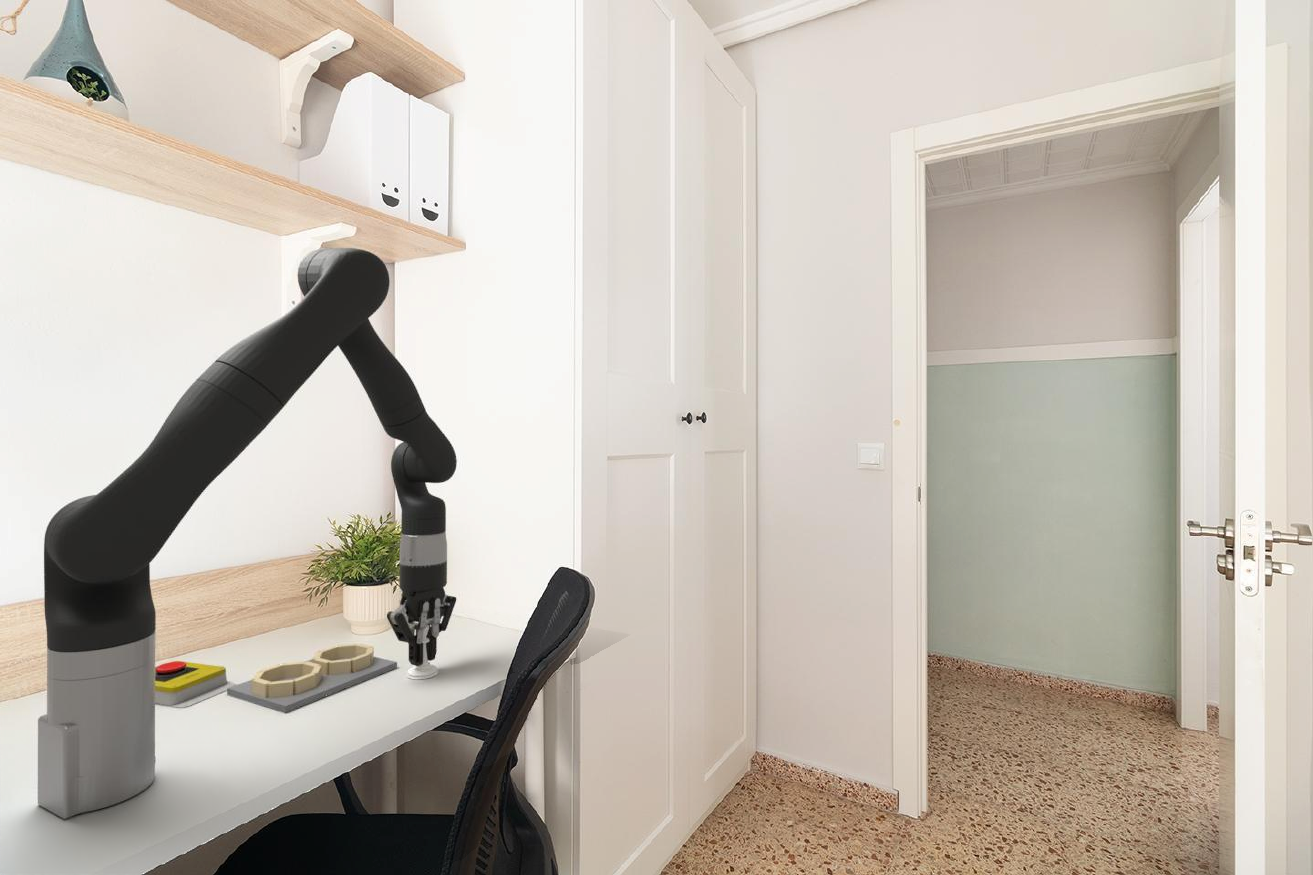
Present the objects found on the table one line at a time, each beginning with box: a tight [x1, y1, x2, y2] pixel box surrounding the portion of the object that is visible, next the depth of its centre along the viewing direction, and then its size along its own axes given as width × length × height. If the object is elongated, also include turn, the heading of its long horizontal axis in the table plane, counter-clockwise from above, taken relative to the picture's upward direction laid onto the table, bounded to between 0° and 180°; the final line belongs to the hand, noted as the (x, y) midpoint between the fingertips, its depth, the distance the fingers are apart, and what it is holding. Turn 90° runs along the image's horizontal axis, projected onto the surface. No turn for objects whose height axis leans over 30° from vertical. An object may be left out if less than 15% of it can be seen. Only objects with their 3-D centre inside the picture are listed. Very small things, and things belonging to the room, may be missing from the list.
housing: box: [226, 643, 398, 714], centre depth 104 cm, size 20×14×3 cm
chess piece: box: [406, 625, 439, 681], centre depth 107 cm, size 5×5×10 cm
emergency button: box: [155, 660, 238, 709], centre depth 100 cm, size 9×4×15 cm
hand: (422, 661), depth 107 cm, fingers closed on chess piece
